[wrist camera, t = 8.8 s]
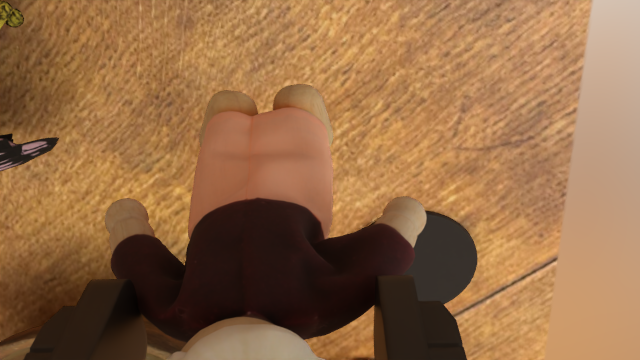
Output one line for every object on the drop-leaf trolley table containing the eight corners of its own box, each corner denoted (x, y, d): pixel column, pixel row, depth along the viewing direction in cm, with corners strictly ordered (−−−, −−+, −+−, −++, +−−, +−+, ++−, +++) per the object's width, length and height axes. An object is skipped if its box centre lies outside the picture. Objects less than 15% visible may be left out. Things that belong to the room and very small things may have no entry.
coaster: (483, 208, 41) (484, 211, 41) (469, 307, 46) (470, 310, 46) (346, 212, 41) (346, 215, 41) (348, 311, 47) (348, 314, 46)
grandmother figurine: (193, 194, 20) (45, 614, 9) (151, 98, 18) (-97, 490, 7) (405, 151, 19) (512, 563, 8) (385, 44, 17) (492, 404, 6)
